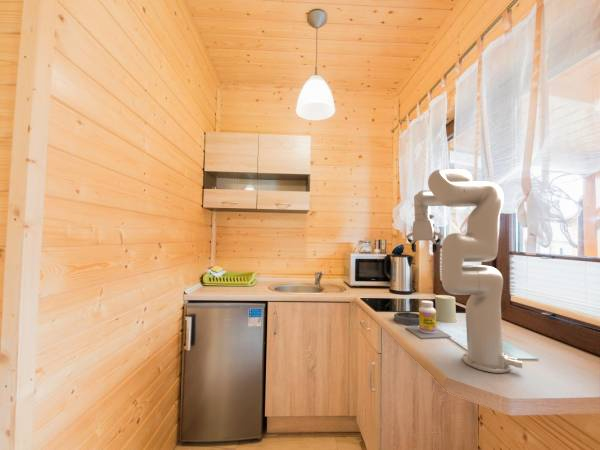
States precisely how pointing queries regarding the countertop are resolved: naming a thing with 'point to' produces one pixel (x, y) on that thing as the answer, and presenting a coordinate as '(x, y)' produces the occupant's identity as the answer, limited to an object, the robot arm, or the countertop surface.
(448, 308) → the can
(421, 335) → the mat
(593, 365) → the countertop surface
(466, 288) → the robot arm
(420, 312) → the supplement bottle
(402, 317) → the collar
